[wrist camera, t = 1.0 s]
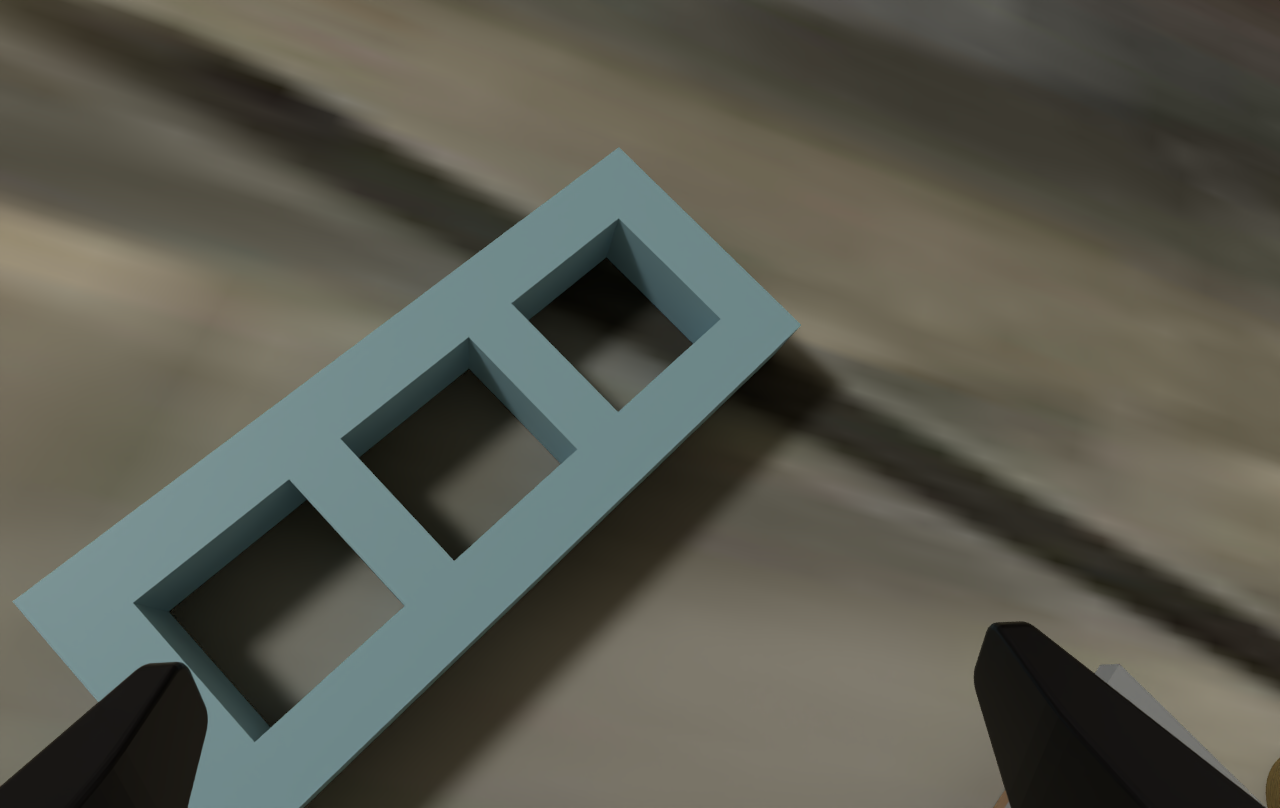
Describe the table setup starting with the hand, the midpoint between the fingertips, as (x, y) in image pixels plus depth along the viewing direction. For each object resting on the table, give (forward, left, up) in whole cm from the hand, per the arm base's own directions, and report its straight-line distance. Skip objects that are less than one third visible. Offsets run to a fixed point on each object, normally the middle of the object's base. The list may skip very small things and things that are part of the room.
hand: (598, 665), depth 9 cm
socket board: (+6, -3, -15) cm, 16 cm away
